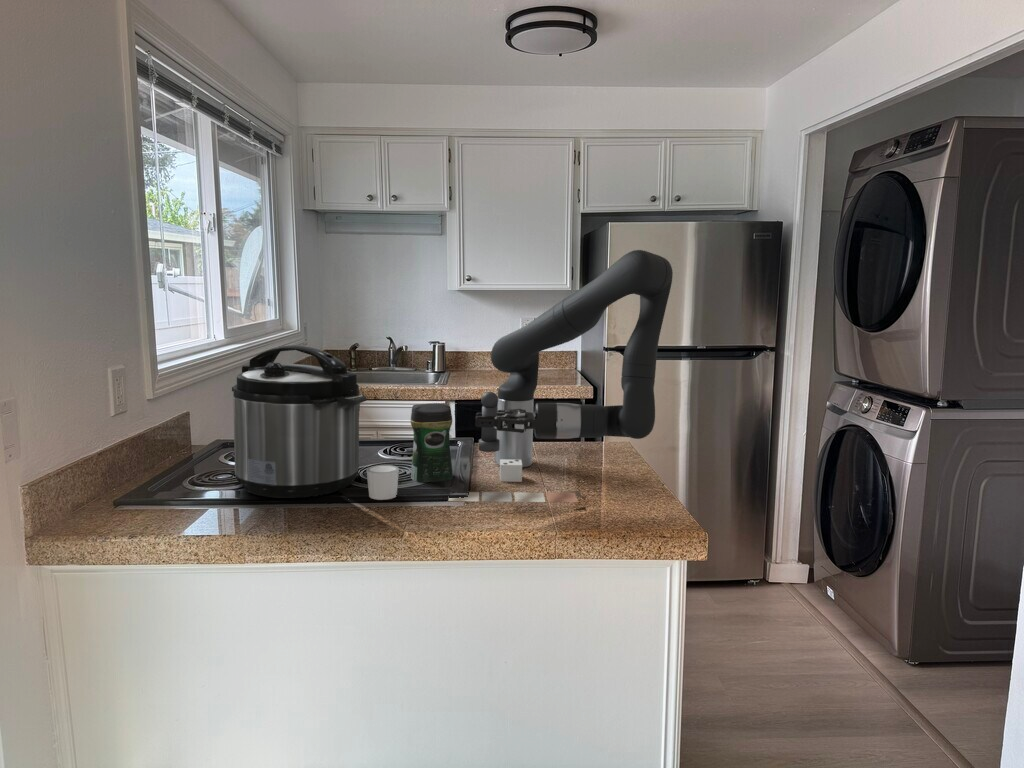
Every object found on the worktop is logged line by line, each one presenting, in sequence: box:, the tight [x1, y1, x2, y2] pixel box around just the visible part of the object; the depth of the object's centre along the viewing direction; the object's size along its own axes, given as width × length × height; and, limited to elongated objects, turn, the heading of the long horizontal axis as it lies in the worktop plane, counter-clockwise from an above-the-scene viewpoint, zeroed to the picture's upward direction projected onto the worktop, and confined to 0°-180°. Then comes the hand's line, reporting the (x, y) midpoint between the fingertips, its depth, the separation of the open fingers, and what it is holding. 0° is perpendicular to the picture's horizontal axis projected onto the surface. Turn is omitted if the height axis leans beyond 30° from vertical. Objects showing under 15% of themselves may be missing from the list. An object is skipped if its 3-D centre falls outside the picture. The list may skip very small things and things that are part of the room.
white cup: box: [366, 464, 400, 501], centre depth 147 cm, size 7×7×7 cm
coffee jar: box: [409, 402, 454, 483], centre depth 161 cm, size 10×8×19 cm
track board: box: [447, 490, 587, 511], centre depth 148 cm, size 30×10×1 cm, turn 92°
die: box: [499, 459, 523, 483], centre depth 162 cm, size 5×5×5 cm
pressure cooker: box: [231, 345, 367, 499], centre depth 156 cm, size 30×28×32 cm
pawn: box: [478, 391, 500, 453], centre depth 146 cm, size 4×4×12 cm
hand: (476, 419), depth 145 cm, fingers closed on pawn, 3 cm apart
